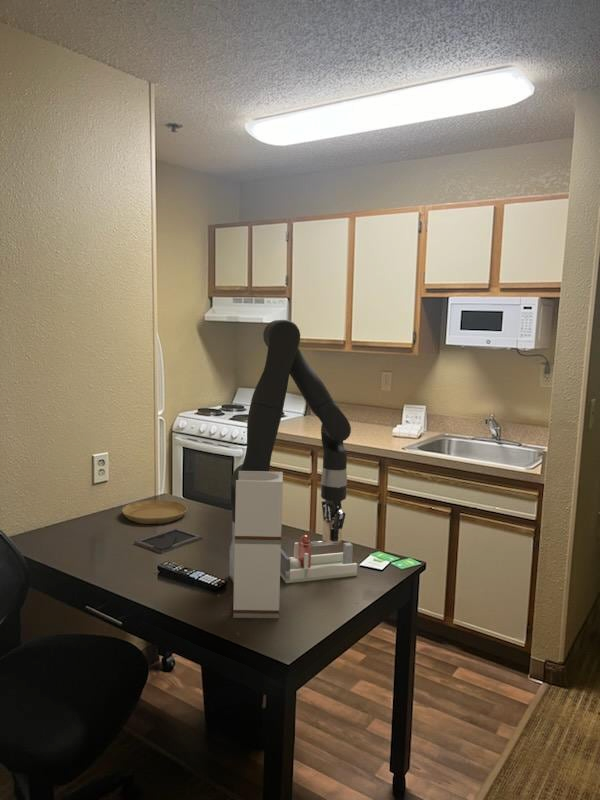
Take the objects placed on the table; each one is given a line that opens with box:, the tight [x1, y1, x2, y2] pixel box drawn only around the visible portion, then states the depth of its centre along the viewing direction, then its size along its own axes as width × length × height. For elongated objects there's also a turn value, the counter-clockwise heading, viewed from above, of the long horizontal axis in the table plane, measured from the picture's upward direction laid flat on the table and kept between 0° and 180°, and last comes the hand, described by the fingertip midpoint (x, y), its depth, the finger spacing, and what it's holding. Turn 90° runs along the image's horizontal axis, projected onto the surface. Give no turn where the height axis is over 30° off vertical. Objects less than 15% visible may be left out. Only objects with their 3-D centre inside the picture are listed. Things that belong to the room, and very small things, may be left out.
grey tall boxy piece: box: [232, 470, 284, 619], centre depth 156 cm, size 11×11×35 cm
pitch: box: [280, 541, 358, 584], centre depth 181 cm, size 22×10×8 cm, turn 109°
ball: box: [290, 558, 301, 570], centre depth 179 cm, size 4×4×4 cm
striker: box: [298, 519, 343, 568], centre depth 181 cm, size 12×5×14 cm, turn 109°
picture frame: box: [134, 527, 204, 554], centre depth 204 cm, size 13×2×18 cm
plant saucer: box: [121, 499, 188, 525], centre depth 231 cm, size 24×24×3 cm
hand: (332, 538), depth 182 cm, fingers closed on striker, 3 cm apart
